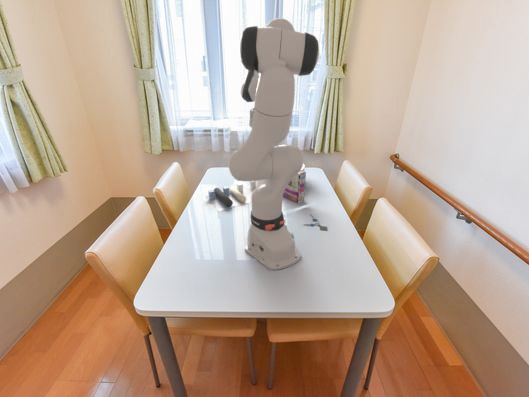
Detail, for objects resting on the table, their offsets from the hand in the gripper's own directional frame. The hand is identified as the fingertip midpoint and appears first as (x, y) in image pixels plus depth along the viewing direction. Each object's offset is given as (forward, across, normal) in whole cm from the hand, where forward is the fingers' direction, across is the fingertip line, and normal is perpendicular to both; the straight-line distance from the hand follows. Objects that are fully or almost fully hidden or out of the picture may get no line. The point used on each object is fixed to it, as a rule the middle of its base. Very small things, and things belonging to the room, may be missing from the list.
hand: (269, 135), depth 130 cm
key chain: (+32, 0, -37) cm, 49 cm away
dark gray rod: (+30, -26, +2) cm, 40 cm away
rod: (+30, -18, +2) cm, 35 cm away
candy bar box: (+31, +6, -14) cm, 35 cm away
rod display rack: (+31, -18, +2) cm, 36 cm away
